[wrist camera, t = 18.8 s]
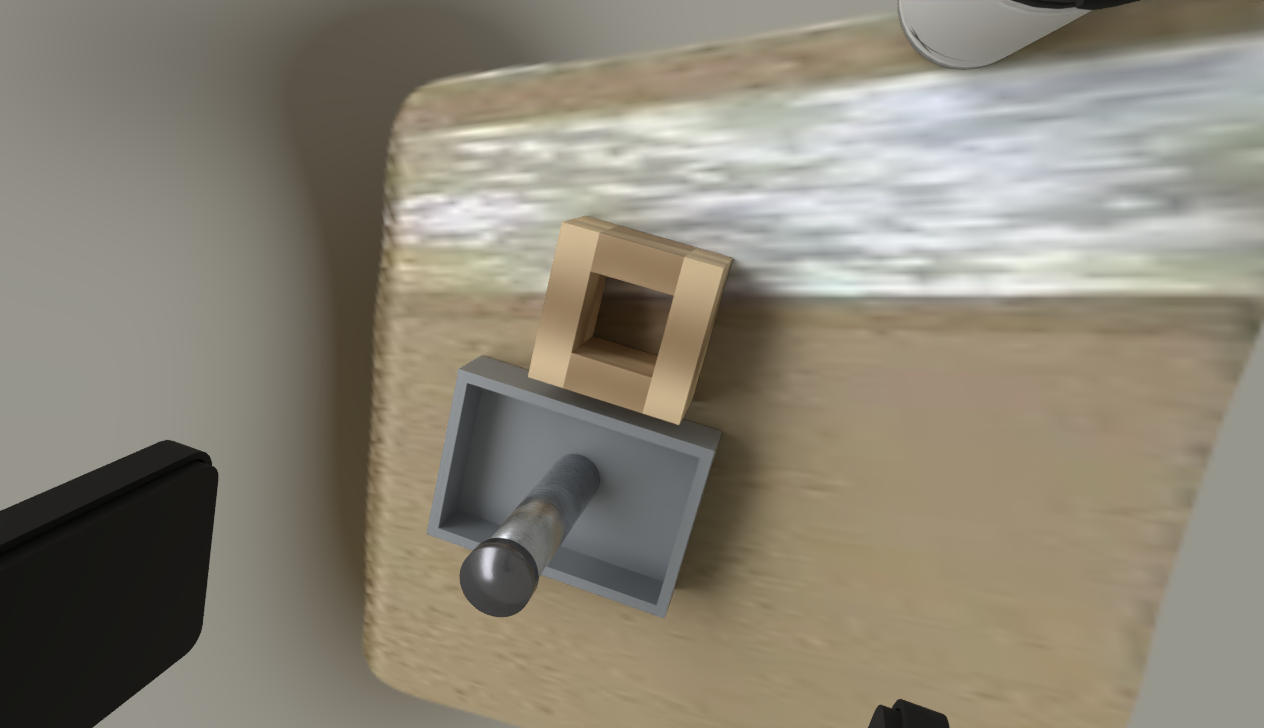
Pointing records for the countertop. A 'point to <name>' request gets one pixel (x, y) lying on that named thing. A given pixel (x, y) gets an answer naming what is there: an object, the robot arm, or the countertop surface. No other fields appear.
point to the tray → (620, 509)
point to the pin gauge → (528, 538)
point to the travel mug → (985, 26)
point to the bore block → (611, 367)
